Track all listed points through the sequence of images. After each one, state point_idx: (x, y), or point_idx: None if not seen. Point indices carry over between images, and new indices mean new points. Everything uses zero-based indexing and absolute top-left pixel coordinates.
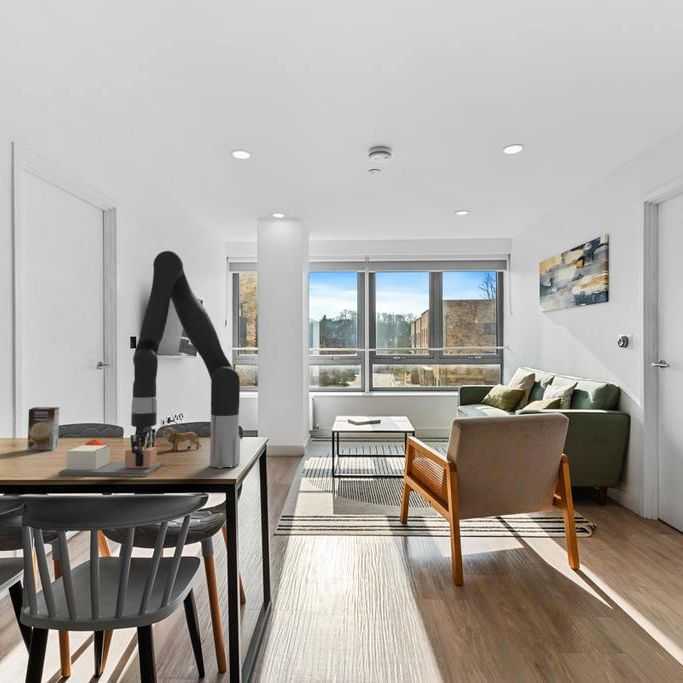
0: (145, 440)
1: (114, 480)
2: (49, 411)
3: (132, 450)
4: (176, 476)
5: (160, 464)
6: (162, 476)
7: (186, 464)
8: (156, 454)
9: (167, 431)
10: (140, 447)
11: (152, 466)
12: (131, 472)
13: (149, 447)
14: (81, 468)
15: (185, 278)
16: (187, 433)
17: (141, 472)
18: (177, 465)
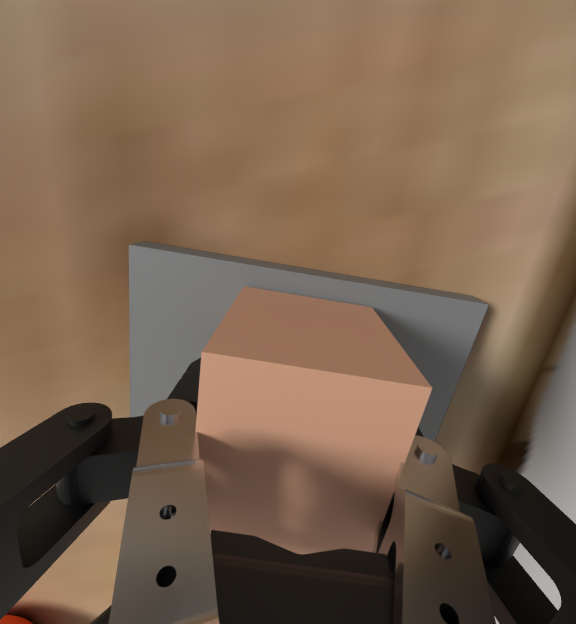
0: (491, 616)
1: (508, 451)
2: None
3: (518, 569)
4: (553, 37)
5: (210, 257)
6: (507, 175)
7: (81, 27)
8: (227, 314)
9: None
10: (556, 538)
11: (323, 300)
12: (448, 404)
13: (213, 437)
14: None
15: None
16: None
17: (473, 341)
18: (128, 119)
